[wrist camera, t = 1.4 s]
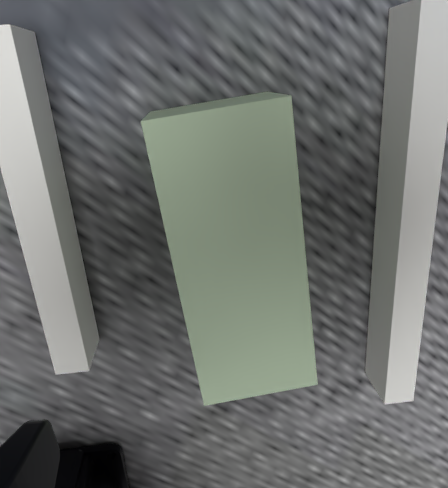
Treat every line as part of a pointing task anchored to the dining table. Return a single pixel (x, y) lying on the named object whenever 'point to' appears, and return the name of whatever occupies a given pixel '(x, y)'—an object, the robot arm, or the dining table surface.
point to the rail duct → (387, 204)
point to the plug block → (236, 241)
